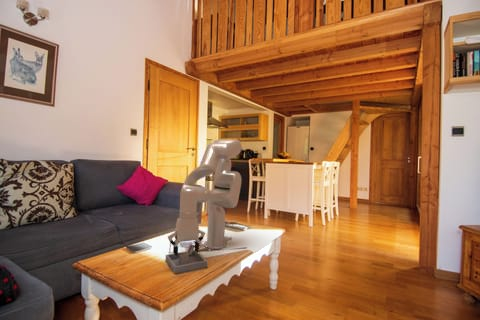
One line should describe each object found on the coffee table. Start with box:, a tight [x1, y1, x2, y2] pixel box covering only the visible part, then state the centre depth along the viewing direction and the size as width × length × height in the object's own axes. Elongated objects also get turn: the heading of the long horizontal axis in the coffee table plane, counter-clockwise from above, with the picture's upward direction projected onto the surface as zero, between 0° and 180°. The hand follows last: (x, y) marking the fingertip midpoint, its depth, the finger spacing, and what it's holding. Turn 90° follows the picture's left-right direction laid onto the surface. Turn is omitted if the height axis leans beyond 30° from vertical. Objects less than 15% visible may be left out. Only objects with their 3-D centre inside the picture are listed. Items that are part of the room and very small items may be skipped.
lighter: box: [179, 244, 195, 265], centre depth 114 cm, size 7×2×8 cm, turn 136°
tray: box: [165, 249, 208, 275], centre depth 114 cm, size 15×15×3 cm
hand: (186, 252), depth 114 cm, fingers open, 9 cm apart
